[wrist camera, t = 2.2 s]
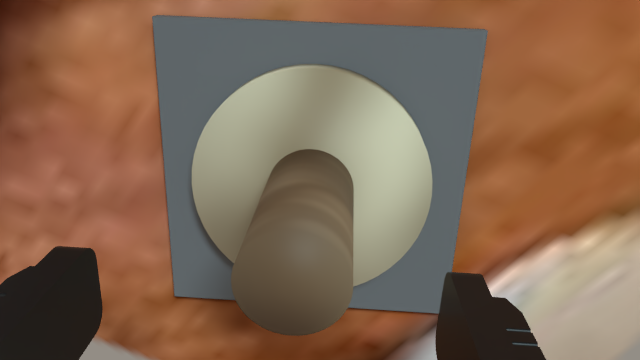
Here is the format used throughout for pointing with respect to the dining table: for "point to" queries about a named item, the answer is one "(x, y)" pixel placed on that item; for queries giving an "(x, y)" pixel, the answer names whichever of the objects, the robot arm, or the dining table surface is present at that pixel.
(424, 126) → the mat
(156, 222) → the dining table surface
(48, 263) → the robot arm
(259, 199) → the lid
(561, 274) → the dining table surface
